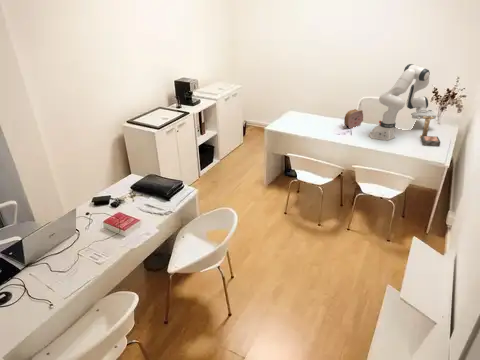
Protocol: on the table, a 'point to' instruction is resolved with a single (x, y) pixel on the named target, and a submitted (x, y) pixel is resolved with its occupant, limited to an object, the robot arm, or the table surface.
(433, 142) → the display plinth
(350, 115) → the face sculpture
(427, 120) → the eyeglasses stand
